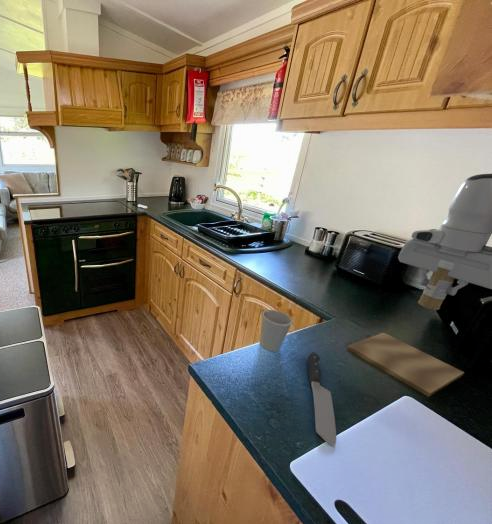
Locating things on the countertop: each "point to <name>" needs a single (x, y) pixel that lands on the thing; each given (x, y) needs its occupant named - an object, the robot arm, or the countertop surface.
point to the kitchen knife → (321, 402)
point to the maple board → (406, 363)
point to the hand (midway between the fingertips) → (436, 289)
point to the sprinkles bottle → (437, 286)
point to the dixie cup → (274, 329)
